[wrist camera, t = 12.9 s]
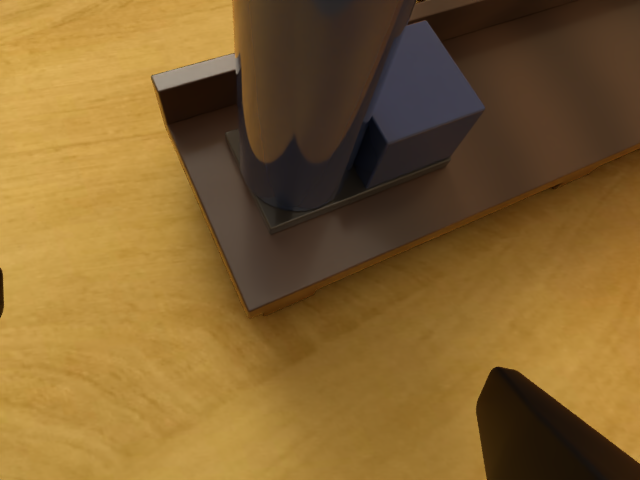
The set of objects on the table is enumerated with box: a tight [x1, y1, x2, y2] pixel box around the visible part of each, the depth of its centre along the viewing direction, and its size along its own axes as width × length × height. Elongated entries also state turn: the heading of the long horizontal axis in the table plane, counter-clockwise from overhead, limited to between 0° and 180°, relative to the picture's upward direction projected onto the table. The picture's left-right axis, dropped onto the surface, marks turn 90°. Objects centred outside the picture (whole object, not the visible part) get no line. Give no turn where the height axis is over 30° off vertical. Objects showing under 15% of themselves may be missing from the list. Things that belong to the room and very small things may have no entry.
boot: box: [225, 0, 486, 235], centre depth 14 cm, size 8×4×12 cm, turn 116°
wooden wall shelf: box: [151, 0, 640, 319], centre depth 23 cm, size 36×9×6 cm, turn 116°
